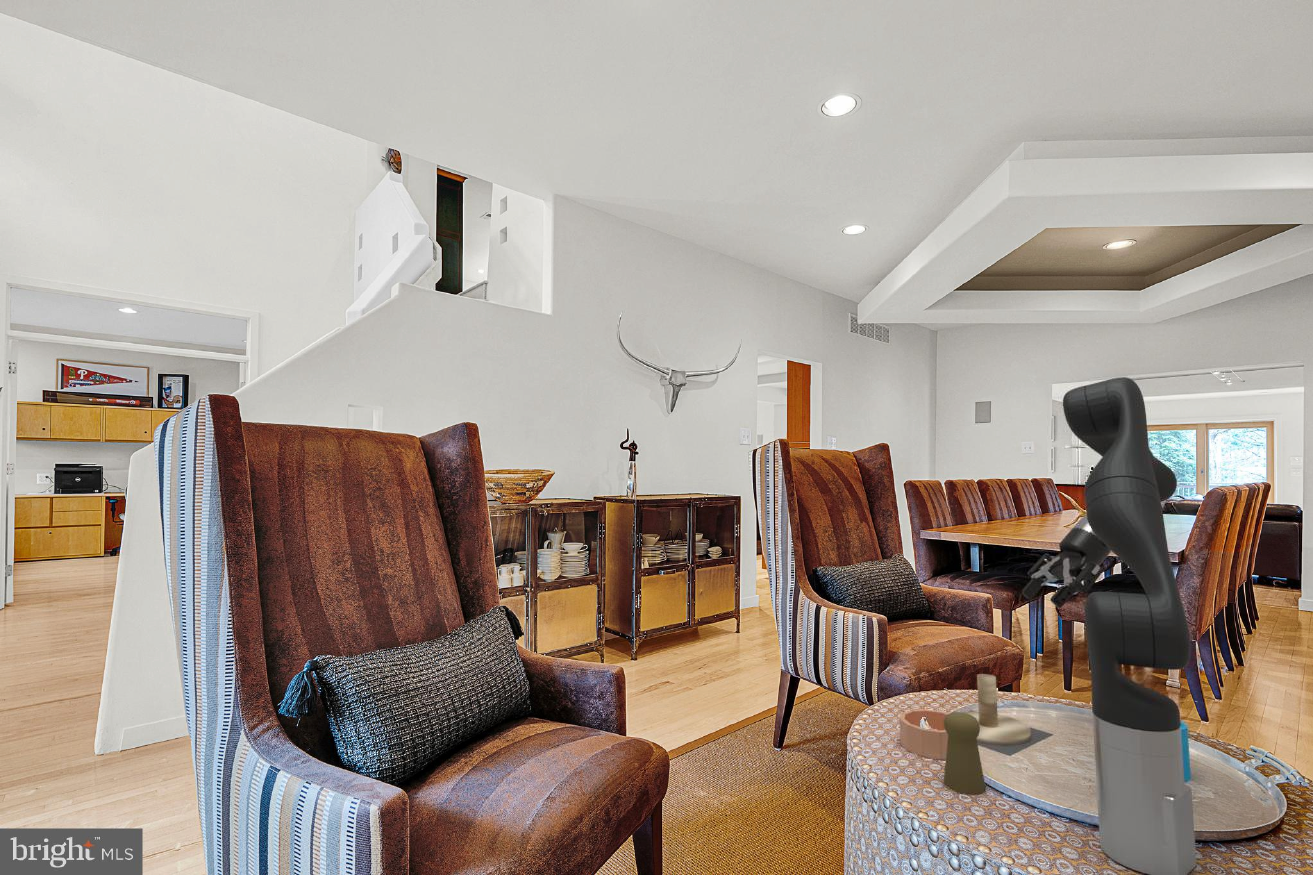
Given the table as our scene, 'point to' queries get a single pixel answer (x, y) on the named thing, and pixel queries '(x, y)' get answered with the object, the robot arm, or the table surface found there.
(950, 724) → the olive pawn
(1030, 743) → the mat
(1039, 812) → the table surface
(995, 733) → the lid
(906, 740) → the bowl
